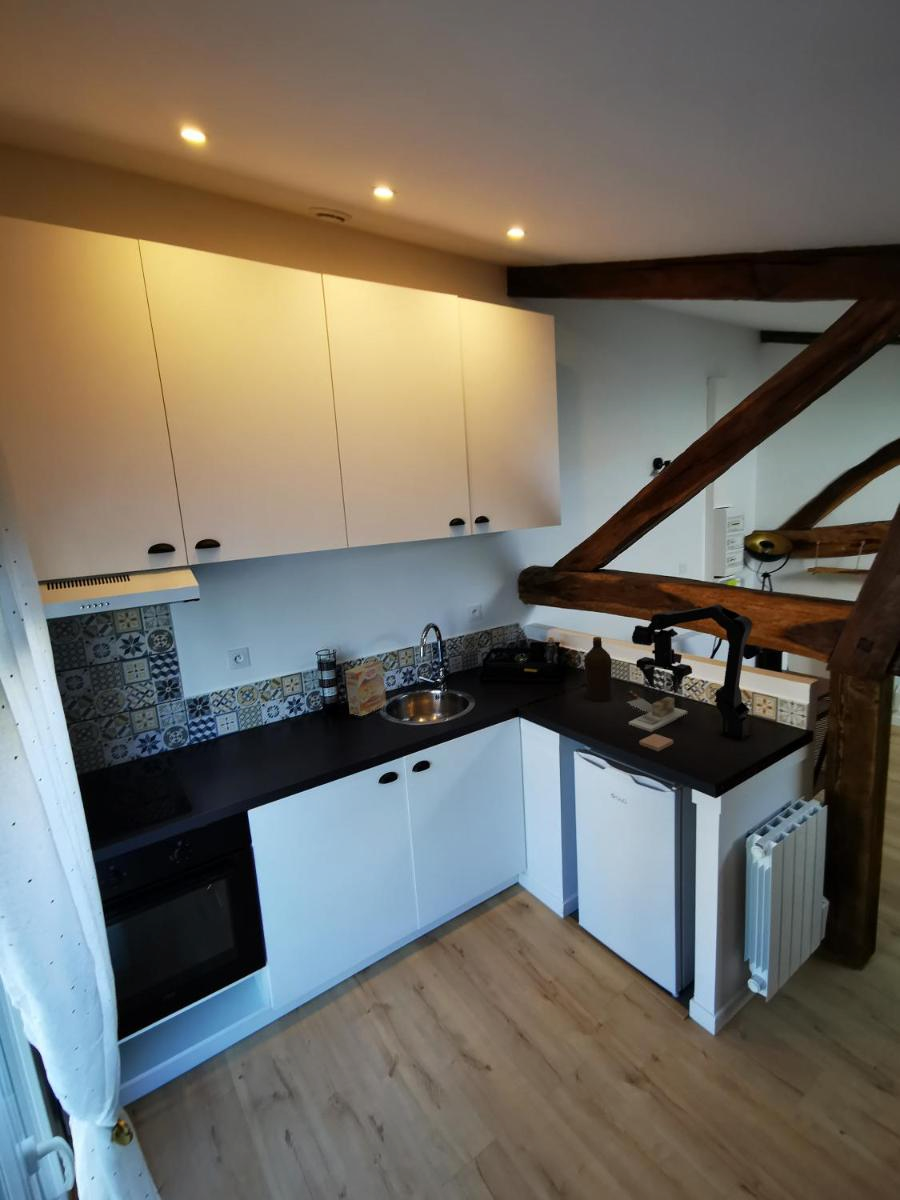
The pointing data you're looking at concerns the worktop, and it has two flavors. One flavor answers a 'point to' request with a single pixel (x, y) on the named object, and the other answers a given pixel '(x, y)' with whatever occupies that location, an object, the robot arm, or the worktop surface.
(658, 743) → the tile
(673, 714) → the rest board
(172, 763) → the worktop surface
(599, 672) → the olive oil
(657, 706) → the turner
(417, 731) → the worktop surface
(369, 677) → the coffeecake box
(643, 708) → the kitchen cleaver
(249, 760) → the worktop surface
